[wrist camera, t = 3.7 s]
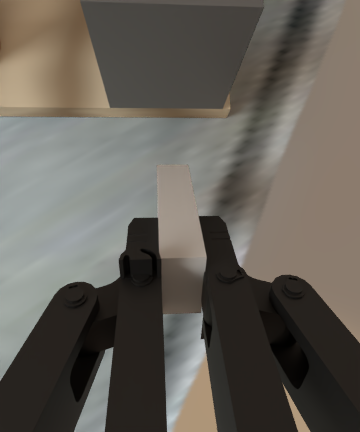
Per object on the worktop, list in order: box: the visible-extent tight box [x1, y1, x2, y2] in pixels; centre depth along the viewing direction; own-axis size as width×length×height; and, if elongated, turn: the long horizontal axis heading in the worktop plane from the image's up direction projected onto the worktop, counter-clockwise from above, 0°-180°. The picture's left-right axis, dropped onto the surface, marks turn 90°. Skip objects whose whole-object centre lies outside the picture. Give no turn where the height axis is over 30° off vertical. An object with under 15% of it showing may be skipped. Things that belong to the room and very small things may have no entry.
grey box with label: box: [80, 0, 264, 109], centre depth 17 cm, size 7×6×8 cm
